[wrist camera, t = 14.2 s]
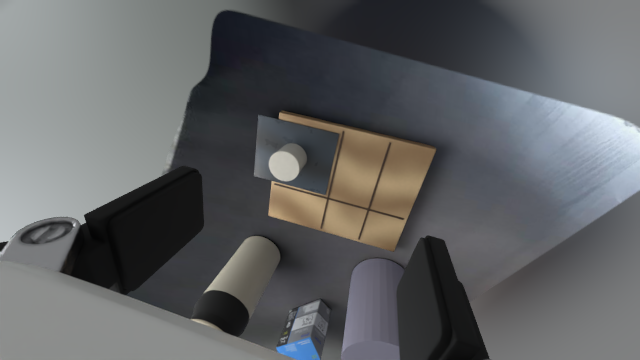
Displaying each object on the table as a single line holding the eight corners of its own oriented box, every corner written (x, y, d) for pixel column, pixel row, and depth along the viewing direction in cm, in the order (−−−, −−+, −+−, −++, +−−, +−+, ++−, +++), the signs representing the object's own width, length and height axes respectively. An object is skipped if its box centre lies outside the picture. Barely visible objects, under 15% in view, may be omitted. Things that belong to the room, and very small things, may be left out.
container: (363, 248, 43) (356, 329, 30) (419, 270, 42) (439, 363, 29) (344, 287, 48) (330, 371, 34) (394, 307, 47) (401, 401, 34)
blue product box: (320, 297, 50) (304, 361, 39) (331, 310, 51) (319, 376, 40) (289, 309, 54) (266, 371, 43) (300, 321, 55) (280, 384, 44)
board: (263, 105, 36) (259, 107, 35) (434, 146, 34) (437, 149, 32) (255, 206, 44) (251, 211, 43) (393, 246, 42) (393, 252, 40)
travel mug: (251, 227, 47) (185, 311, 31) (287, 249, 47) (240, 343, 31) (237, 253, 50) (171, 339, 34) (271, 273, 51) (221, 368, 35)
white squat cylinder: (280, 139, 36) (270, 147, 33) (309, 147, 36) (301, 155, 32) (277, 166, 38) (267, 176, 35) (304, 174, 38) (296, 185, 34)
